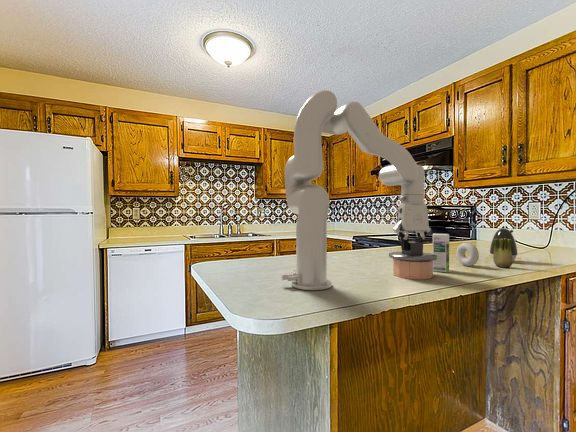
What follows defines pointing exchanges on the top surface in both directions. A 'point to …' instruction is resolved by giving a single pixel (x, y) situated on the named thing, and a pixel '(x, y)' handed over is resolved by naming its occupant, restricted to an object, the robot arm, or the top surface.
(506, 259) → the fennel bulb
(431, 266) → the bowl
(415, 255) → the lid
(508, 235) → the dark glossy dome
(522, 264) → the top surface
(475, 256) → the donut
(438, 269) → the syrup box
